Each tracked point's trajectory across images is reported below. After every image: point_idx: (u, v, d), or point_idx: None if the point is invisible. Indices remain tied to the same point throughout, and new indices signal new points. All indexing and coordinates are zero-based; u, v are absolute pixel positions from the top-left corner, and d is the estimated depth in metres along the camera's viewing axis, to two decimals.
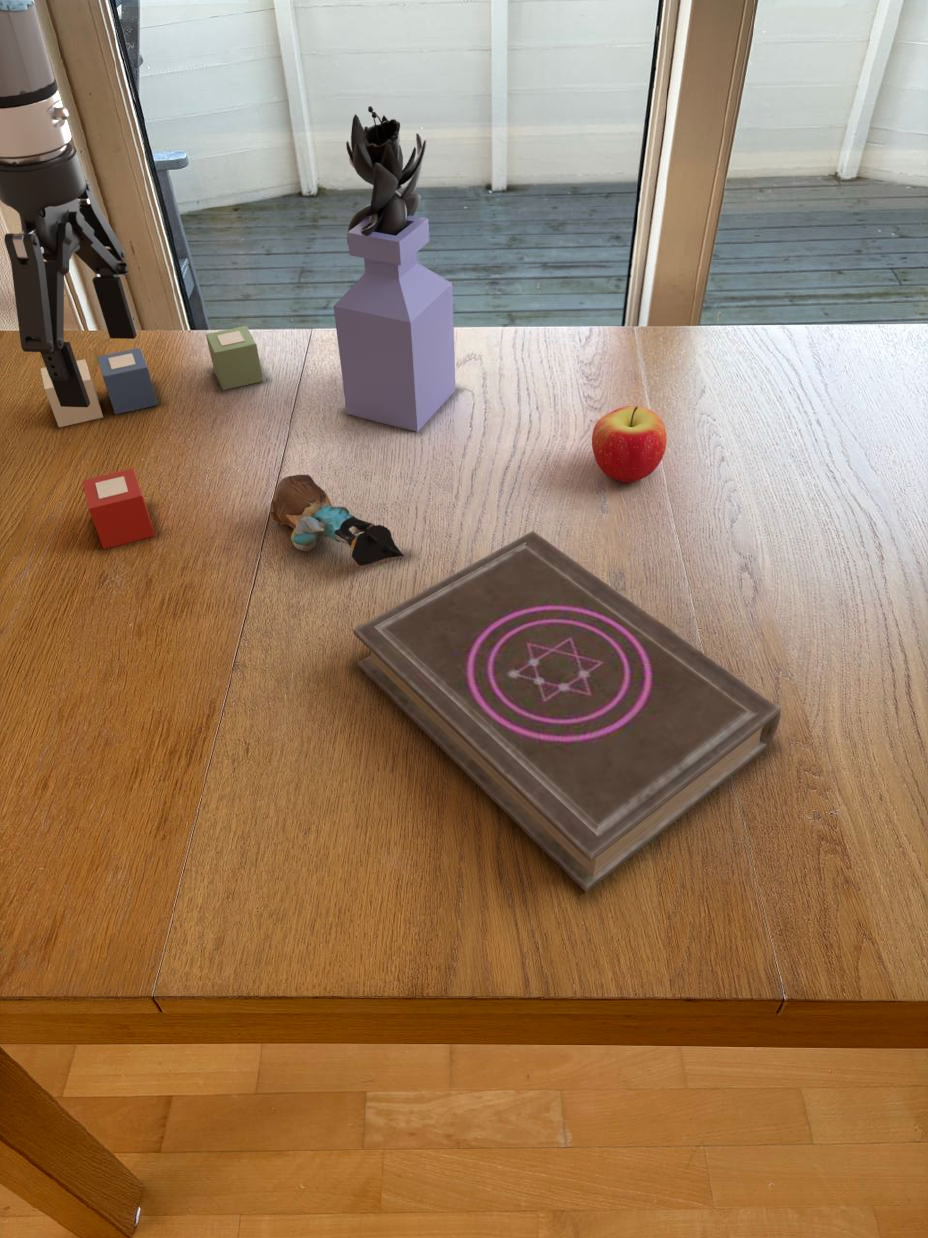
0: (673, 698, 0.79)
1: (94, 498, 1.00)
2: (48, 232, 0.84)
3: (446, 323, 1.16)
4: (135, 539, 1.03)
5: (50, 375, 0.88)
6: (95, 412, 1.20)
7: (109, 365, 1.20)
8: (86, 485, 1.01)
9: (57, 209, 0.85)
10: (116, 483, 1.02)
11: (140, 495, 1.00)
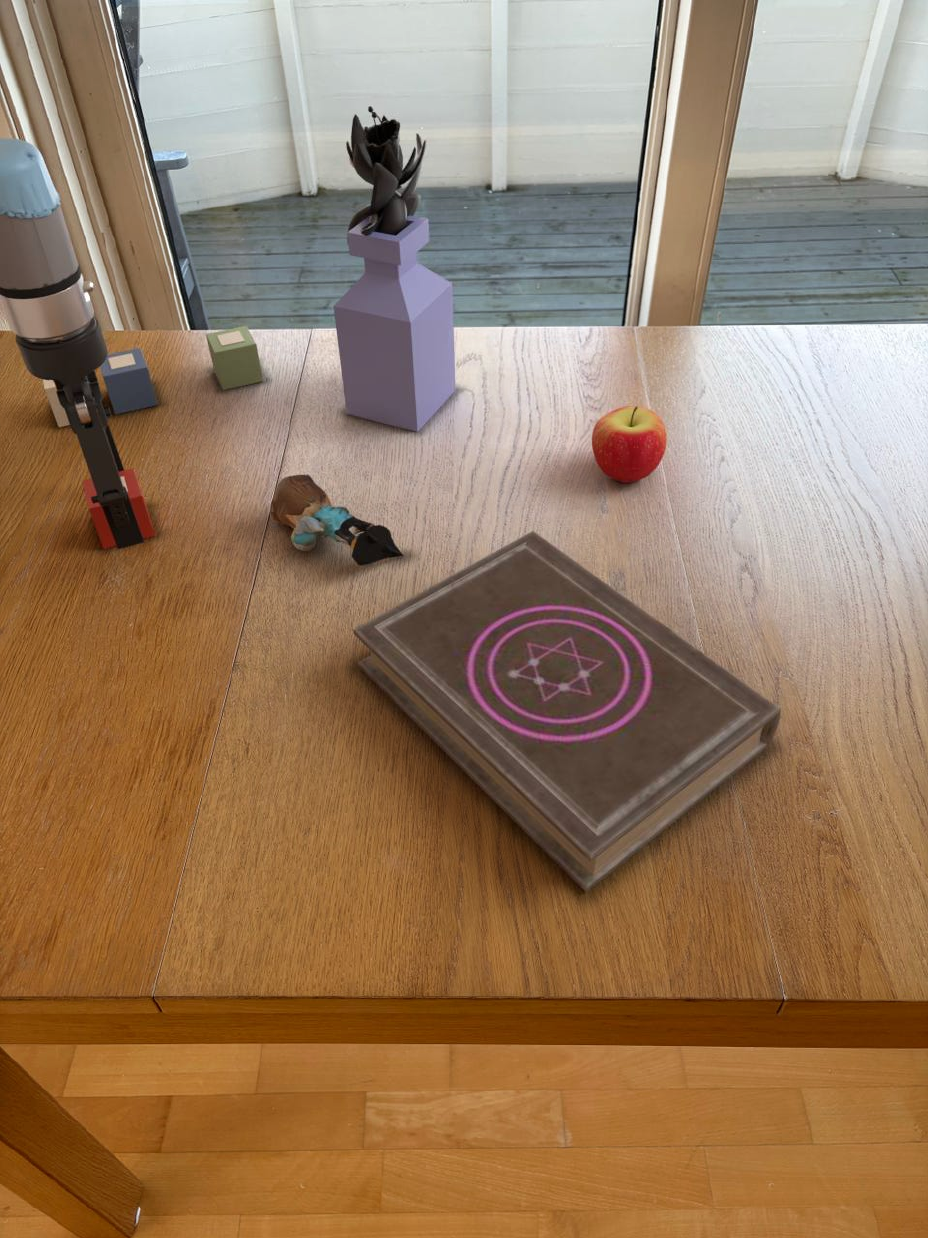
0: (673, 698, 0.79)
1: None
2: (91, 394, 0.90)
3: (446, 323, 1.16)
4: None
5: (116, 522, 0.94)
6: None
7: (109, 365, 1.20)
8: (86, 485, 1.01)
9: None
10: None
11: (140, 495, 1.00)
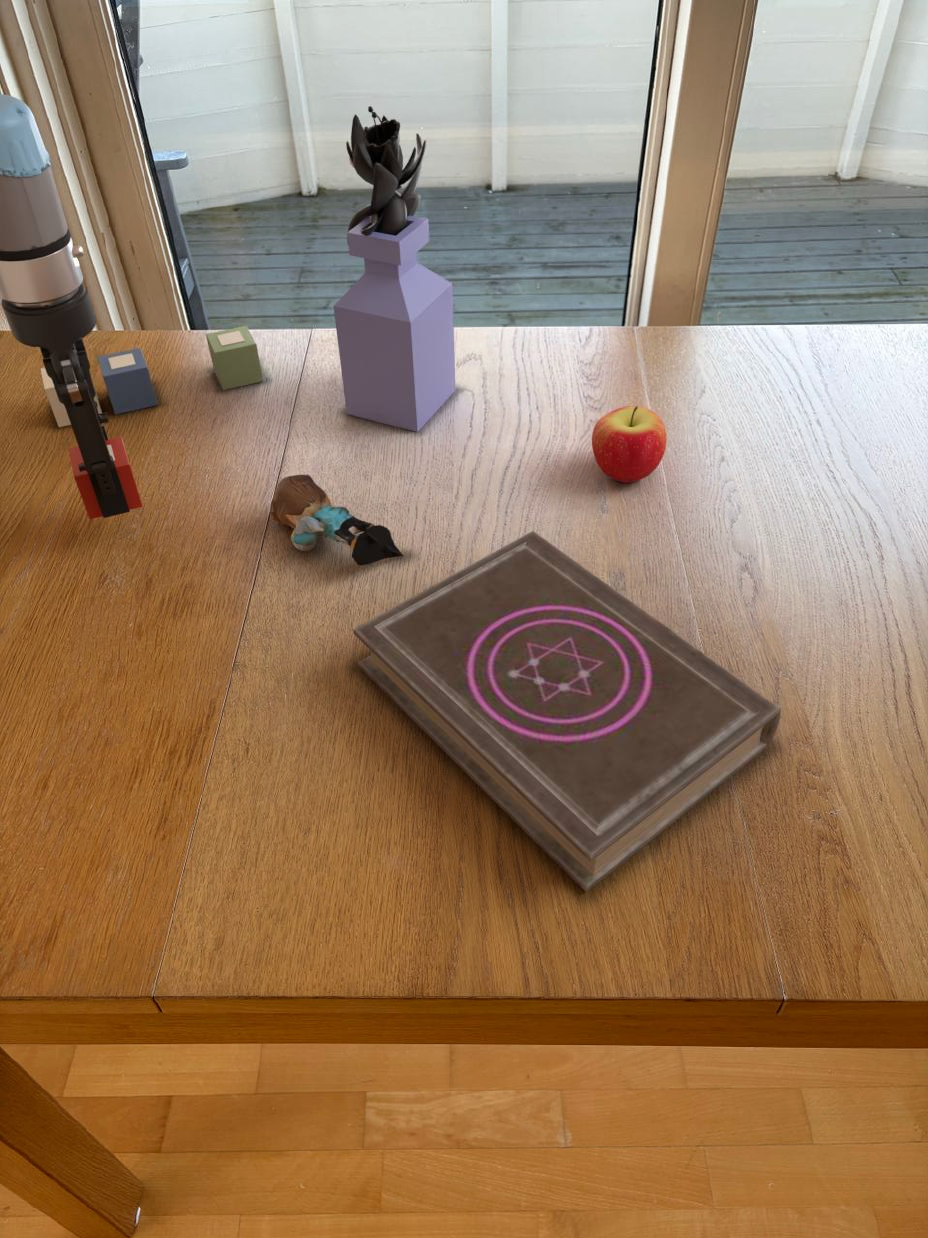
0: (673, 698, 0.79)
1: None
2: (78, 363, 0.88)
3: (446, 323, 1.16)
4: None
5: (102, 491, 0.96)
6: None
7: (109, 365, 1.20)
8: (72, 453, 0.99)
9: None
10: None
11: (127, 464, 0.97)
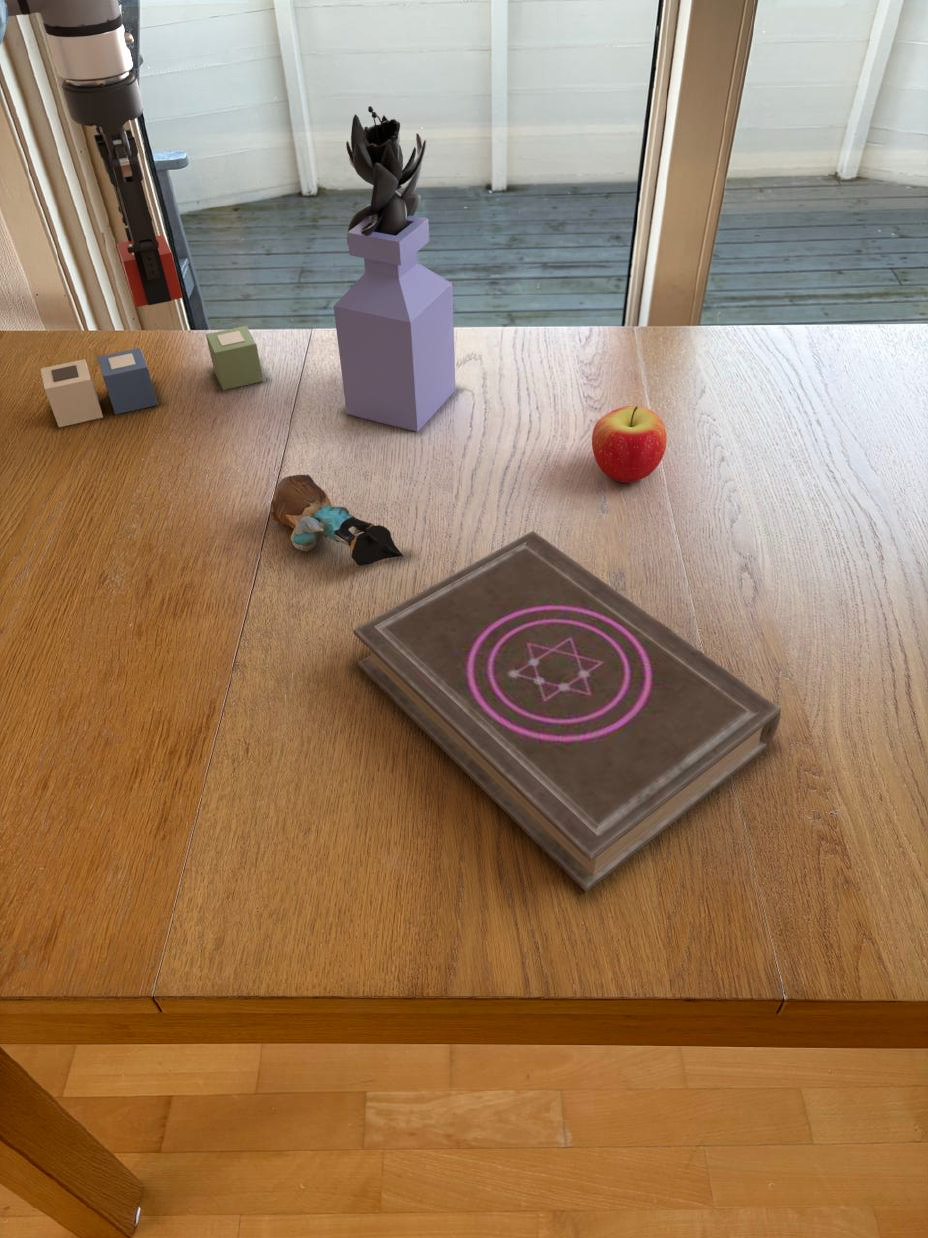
0: (673, 698, 0.79)
1: (127, 255, 1.09)
2: (128, 143, 1.00)
3: (446, 323, 1.16)
4: None
5: (148, 274, 1.08)
6: (95, 412, 1.20)
7: (109, 365, 1.20)
8: (120, 246, 1.10)
9: None
10: None
11: (170, 252, 1.09)
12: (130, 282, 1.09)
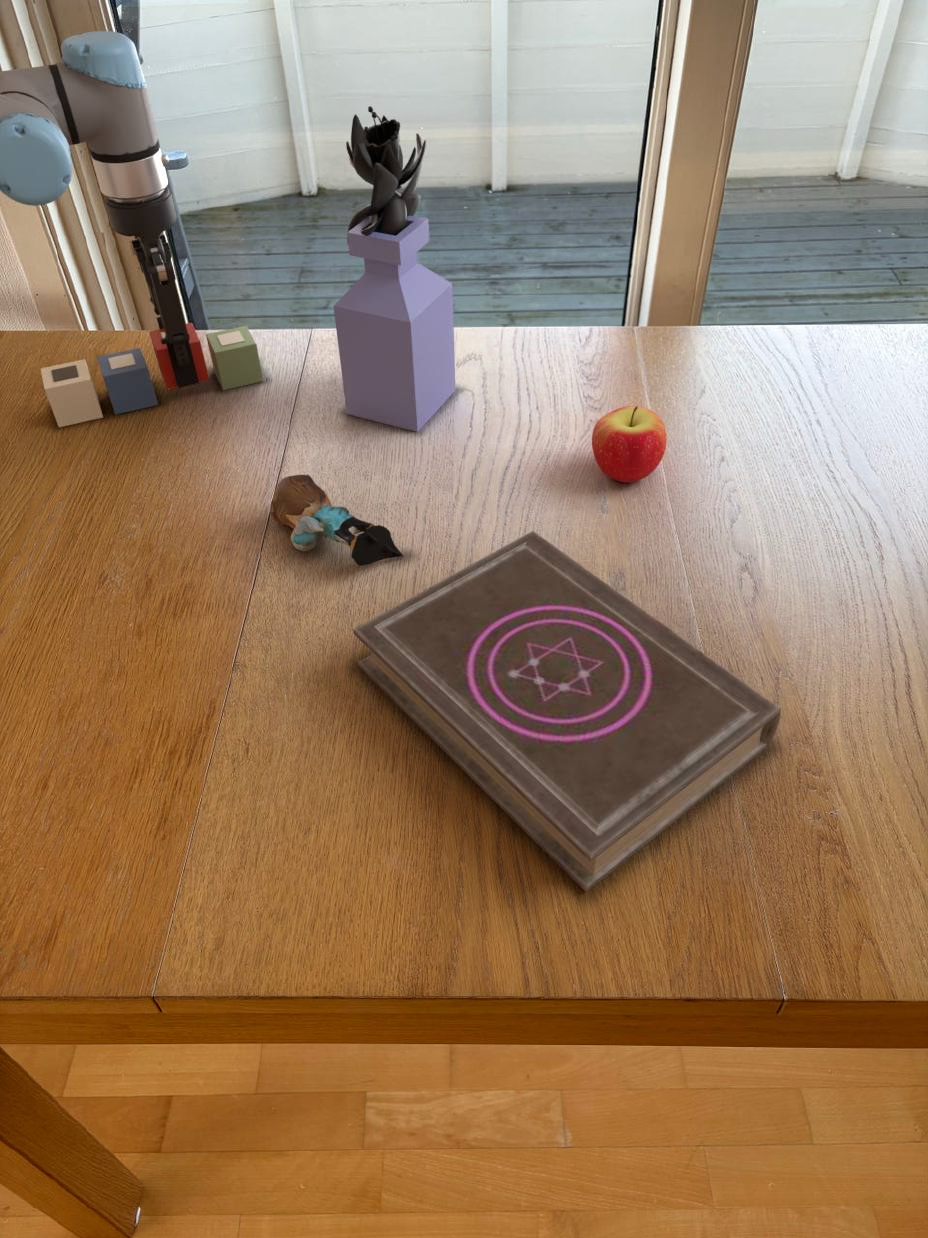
0: (673, 698, 0.79)
1: (160, 343, 1.20)
2: None
3: (446, 323, 1.16)
4: None
5: (179, 362, 1.18)
6: (95, 412, 1.20)
7: (109, 365, 1.20)
8: (153, 334, 1.21)
9: None
10: None
11: (198, 341, 1.20)
12: (162, 368, 1.20)
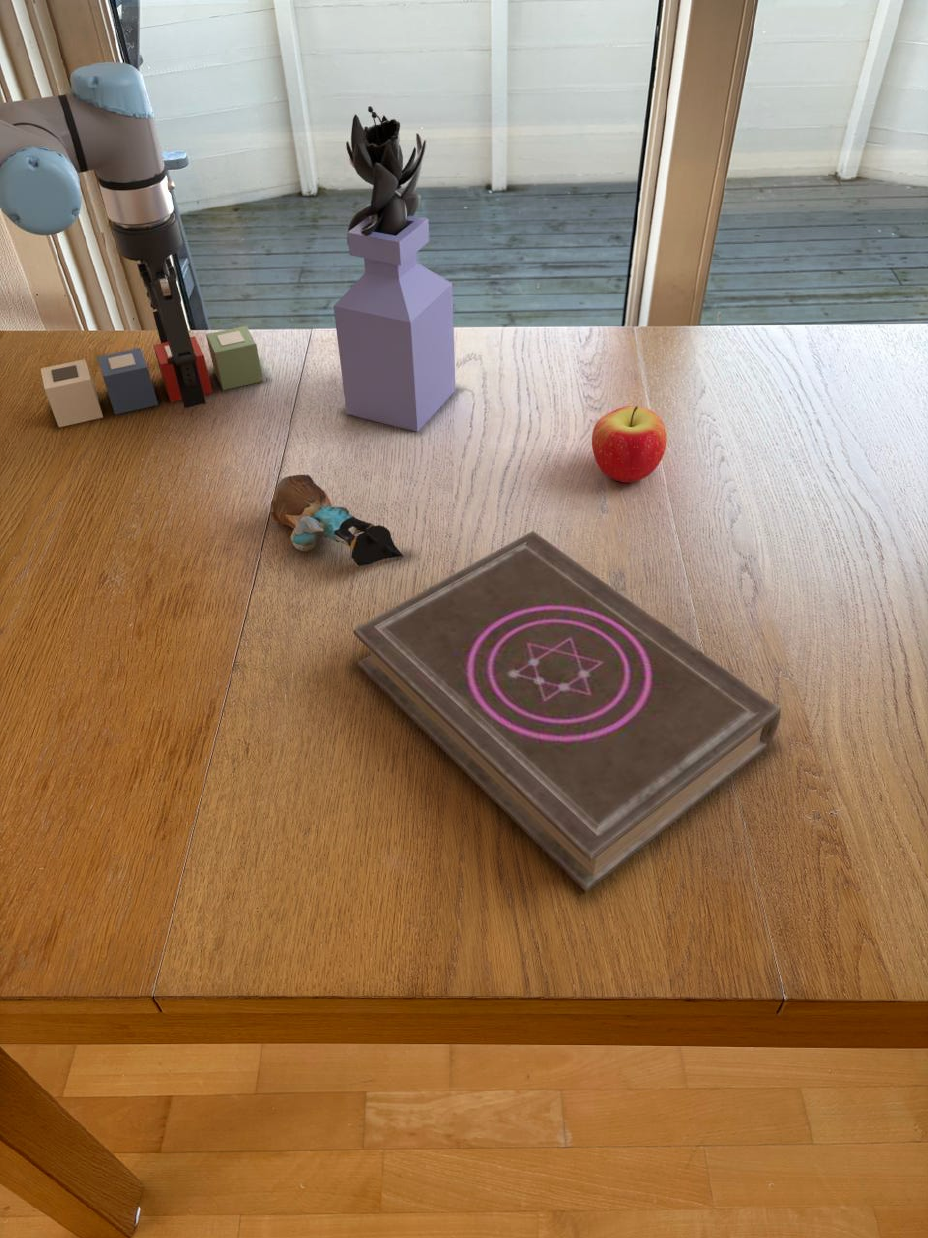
0: (673, 698, 0.79)
1: (164, 357, 1.21)
2: (169, 274, 1.12)
3: (446, 323, 1.16)
4: None
5: (185, 382, 1.17)
6: (95, 412, 1.20)
7: (109, 365, 1.20)
8: (157, 348, 1.23)
9: None
10: None
11: (202, 354, 1.21)
12: (166, 381, 1.21)
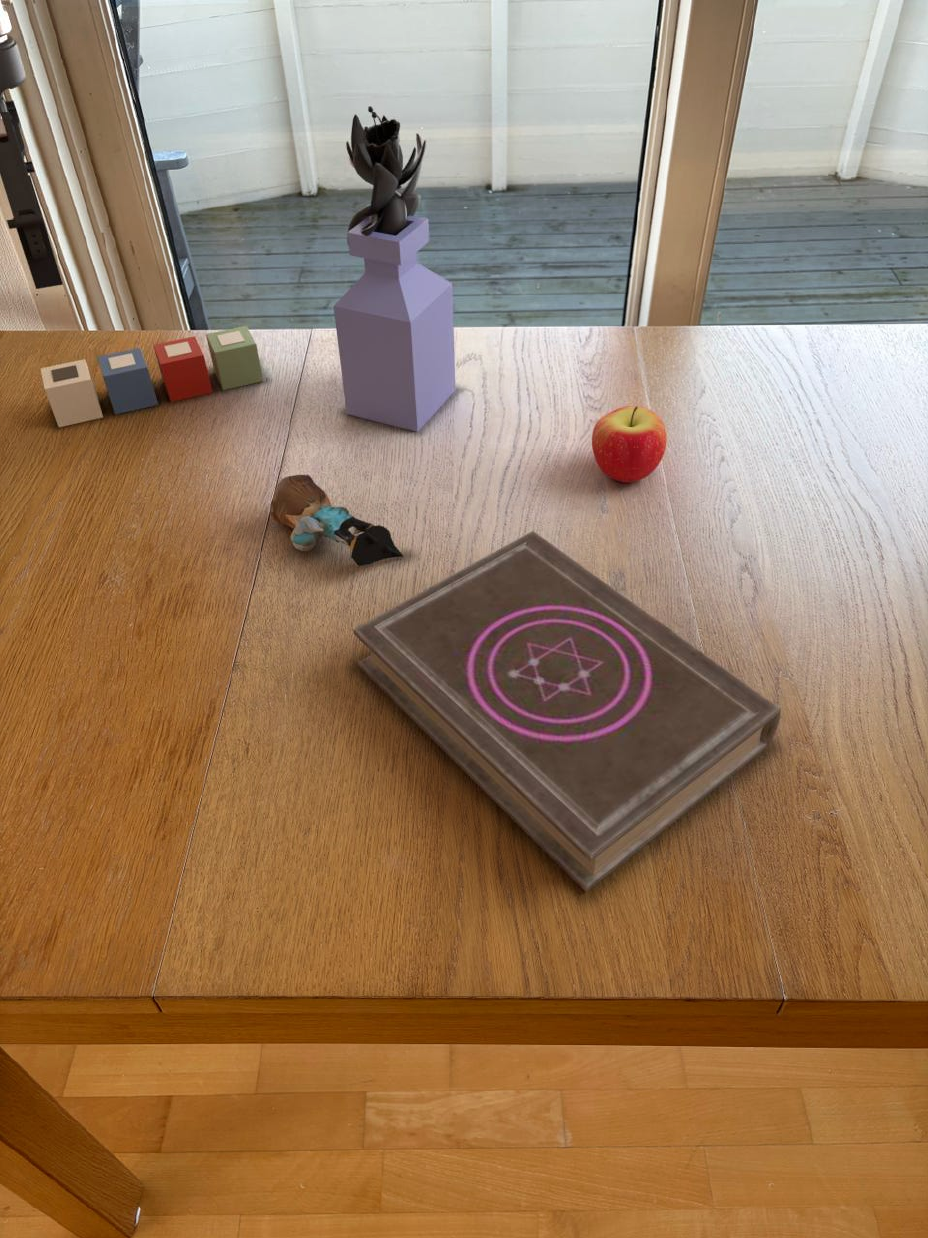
0: (673, 698, 0.79)
1: (164, 357, 1.21)
2: None
3: (446, 323, 1.16)
4: (196, 394, 1.24)
5: (33, 253, 0.95)
6: (95, 412, 1.20)
7: (109, 365, 1.20)
8: (157, 348, 1.23)
9: None
10: (181, 346, 1.23)
11: (202, 354, 1.21)
12: (166, 381, 1.21)
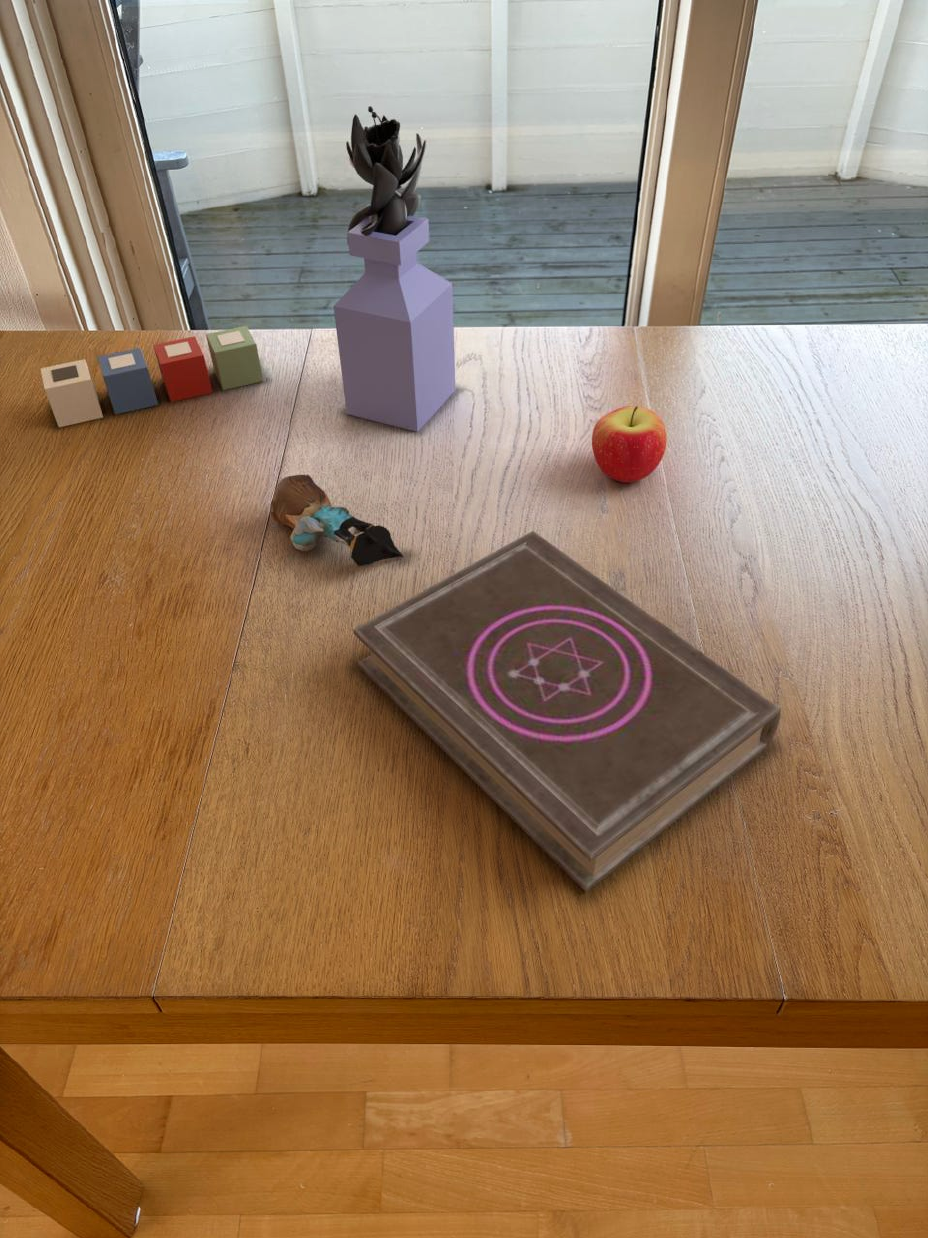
0: (673, 698, 0.79)
1: (164, 357, 1.21)
2: None
3: (446, 323, 1.16)
4: (196, 394, 1.24)
5: None
6: (95, 412, 1.20)
7: (109, 365, 1.20)
8: (157, 348, 1.23)
9: None
10: (181, 346, 1.23)
11: (202, 354, 1.21)
12: (166, 381, 1.21)
